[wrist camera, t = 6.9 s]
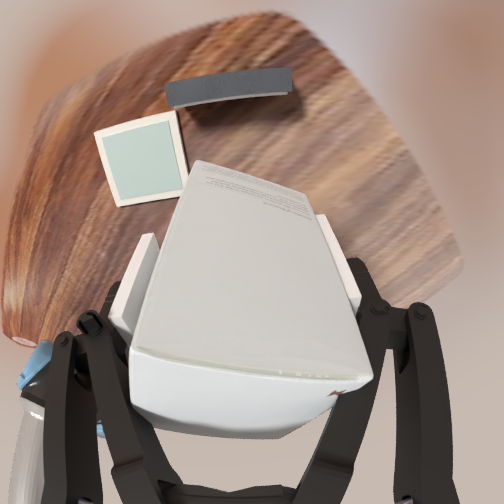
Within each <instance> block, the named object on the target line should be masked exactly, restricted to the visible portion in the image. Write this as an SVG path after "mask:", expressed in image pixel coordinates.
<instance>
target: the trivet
mask: <svg viewBox="0 0 504 504" xmlns="http://www.w3.org/2000/svg"><path fill="white" fill-rule="evenodd" d="M94 135H95V139H96V142H97V146H98V150H99V153H100V156H101V160H102V163H103V166H104V170H105V173H106V176H107V179H108V182H109V185H110V188H111V191H112V194H113V197H114V200H115V203H116V205H117V207H120V206H125V205H131V204H136V203H142V202H148V201H154V200H160V199H166V198H173V197H179V196H181V193H182V191H183V188H184V186H185V183H186V181H187V179H188V176H189V172H188V167H187V162H186V158H185V153H184V148H183V143H182V138H181V133H180V127H179V122H178V117H177V111H176V110H174V111H169V112H164V113H160V114H156V115H151V116H147V117H143V118H139V119H136V120H132V121H128V122H125V123H121V124H118V125H115V126H111V127H108V128H105V129H102V130H99V131H96V132H94Z"/></svg>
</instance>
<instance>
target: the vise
mask: <svg viewBox="0 0 504 504" xmlns="http://www.w3.org/2000/svg"><path fill="white" fill-rule="evenodd" d="M164 86H165V92H166V97H167V103H168V107H172V106H173V107H174V109H176V108H181V107H186V106H191V105H197V104H203V103H209V102H216V101H223V100H230V99H239V98H248V97H259V96H272V95H287V92H293V90H292V77H291V67H288V68H266V69H253V70H243V71H234V72H226V73H219V74H212V75H206V76H200V77H194V78H189V79H184V80H179V81H175V82H170V83H166V84H164Z"/></svg>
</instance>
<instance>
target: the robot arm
mask: <svg viewBox="0 0 504 504" xmlns="http://www.w3.org/2000/svg"><path fill="white" fill-rule="evenodd" d="M315 217H316V219H317V221H318V224H319V226H320V228H321V231H322V233H323V236H324V238H325V240H326V243H327V245H328V247H329V250H330V252H331V255H332V257H333V260H334V262H335V265H336V267H337V270H338V273H339V275H340V278H341V281H342V283H343V286H344V288H345V291H346V294H347V296H348V299H349V302H350V305H351V308H352V311H353V314H354V316H355V319H356V321H357V324H358V327H359V331H360V334H361V337H362V340H363V342H364V346H365V349H366V352H367V355H368V358H369V361H370V365H371V368H372V371H373V375H374V376H373V379H372V380H371V381H369V382H368V383H366V384H365V385H364V386H362V387H361V388H359V389H357V390H353V391H350V392H346V393H343V394H339V395H338V398H337V400H336V402H335V404H334V406H333V407H332V410H331V412H330V415H329V418H328V420H327V423H326V425H325V428H324V430H323V433H322V435H321V437H320V440H319V442H318V445H317V447H316V449H315V451H314V454H313V456H312V458H311V460H310V462H309V464H308V466H307V468H306V470H305V472H304V475H303V476H302V479H301V480H300V483H299V484H298V486H297V488H296V489H294V488H290V487H284V486H282V485H270V486H255V487H250V488H246V489H242V490H238V491H234V492H225V491H221V490H217V489H213V488H208V487H204V486H199V485H186V484H183V482H182V480H181V479H180V477H179V476H178V474H177V473H176V472H175V471H174V470H173V469H172V467H171V465H170V464H169V462H168V460H167V458H166V455H165V453H164V451H163V449H162V447H161V445H160V442H159V440H158V438H157V435H156V433H155V431H154V428H153V426H152V423H150V422H149V421H148V420H146V419H145V418H144V417H143V416H142V415H140V414H139V413H138V412H137V411H136V410H135V409H134V408H133V407H132V405H131V401H130V386H129V350H130V346H131V343H132V339H133V336H134V333H135V329H136V326H137V322H138V319H139V315H140V312H141V308H142V305H143V302H144V298H145V295H146V292H147V289H148V285H149V282H150V279H151V276H152V273H153V270H154V267H155V264H156V261H157V258H158V255H159V252H160V249H159V246H158V244H157V241H156V238H155V235H154V233H149V234H143V235H142V237H141V239H140V241H139V243H138V245H137V248H136V250H135V252H134V254H133V256H132V259H131V261H130V263H129V265H128V268H127V270H126V272H125V275H124V277H123V280H122V281H117V282H115V283H114V284H113V286H112V287H111V288H110V290H109V292H108V294H107V297H106V299H105V302H104V304H103V306H102V309H101V311H100V314H98V313H97V312H96V311H95V310H89V311H86V312H84V313H82V314H81V315H80V317H79V318H78V320H77V324H76V325H77V327H78V328H79V329H80V331H81V332H82V333H83V334H80V335H77V336H73V335H72V333H71V332H69V331H64V332H61V333H60V334H59V335H58V336H57V337H56V339H55V341H54V343H53V342H51V341H49V340H42V341H41V342H40V343H39V344H38V345H37V347H36V348H35V350H34V352H33V353H32V355H31V357H30V358H29V360H28V362H27V363H26V365H25V367H24V369H23V371H22V373H21V375H20V377H19V379H18V381H17V387H18V388H19V389H20V390H22V393H21V396H20V401H21V403H22V406H23V408H24V415H23V418H22V422H21V426H20V430H19V434H18V439H17V443H16V448H15V453H14V459H13V464H12V471H11V478H10V486H9V496H8V504H103V491H102V482H101V474H100V466H99V455H98V442H97V436H98V437H101V438H105V439H106V441H107V444H108V447H109V450H110V453H111V456H112V459H113V462H114V466H113V468H112V469H111V475H112V478H113V481H114V484H115V486H116V488H117V491H118V493H119V496H120V498H121V500H122V503H123V504H340V503H341V501H342V499H343V496H344V494H345V492H346V490H347V487H348V485H349V482H350V480H351V477H352V475H353V471H354V462H355V460H356V457H357V454H358V451H359V448H360V445H361V443H362V440H363V437H364V434H365V431H366V428H367V424H368V421H369V418H370V414H371V411H372V407H373V404H374V400H375V396H376V392H377V388H378V384H379V380H380V376H381V371H382V367H383V362H384V356H385V352H386V349H393V356H394V367H395V383H396V415H397V416H396V418H397V420H396V426H397V428H396V458H395V472H394V487H393V492H394V502H395V504H460V503H459V499H458V496H457V492H456V489H455V485H454V482H453V479H452V474H453V445H452V444H453V443H452V442H453V441H452V422H451V410H450V400H449V392H448V384H447V377H446V371H445V365H444V359H443V354H442V349H441V345H440V339H439V335H438V330H437V326H436V322H435V318H434V315H433V312H432V309H431V308H430V307H429V306H428V305H426V304H424V303H420V302H416V303H413V304H411V305H410V307H409V308H408V309H402V308H395V307H391V306H390V304H389V303H388V302H387V301H385V300H383V299H382V298H381V297H380V294H379V292H378V290H377V288H376V286H375V284H374V282H373V280H372V278H371V276H370V274H369V272H368V269H367V267H366V265H365V264H364V263H363V262H362V261H361V260H360V259H359V258H349V259H345V257H344V254H343V252H342V250H341V248H340V246H339V243H338V241H337V239H336V237H335V235H334V233H333V231H332V229H331V227H330V225H329V222H328V220H327V218H326V216H325V214H321V215H315ZM282 493H283V494H282Z"/></svg>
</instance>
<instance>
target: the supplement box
mask: <svg viewBox="0 0 504 504" xmlns="http://www.w3.org/2000/svg"><path fill="white" fill-rule="evenodd" d="M373 376H374V375H373V371H372V368H371V365H370V361H369V358H368V355H367V352H366V349H365V346H364V342H363V340H362V337H361V334H360V331H359V327H358V324H357V321H356V319H355V316H354V314H353V311H352V308H351V305H350V302H349V299H348V296H347V294H346V291H345V288H344V286H343V283H342V281H341V278H340V275H339V273H338V270H337V267H336V265H335V262H334V260H333V257H332V255H331V252H330V250H329V247H328V245H327V243H326V240H325V238H324V236H323V233H322V231H321V228H320V226H319V224H318V221H317V219H316V217H315V215H314V212H313V210H312V208H311V205H310V203H309V201H308V199H307V196H306V195H305V194H303V193H300V192H298V191H295V190H292V189H289V188H286V187H284V186H281V185H278V184H275V183H272V182H269V181H266V180H263V179H260V178H257V177H254V176H251V175H248V174H245V173H242V172H238V171H235V170H232V169H229V168H225V167H222V166H218V165H215V164H212V163H208V162H204V161H200V160H197V161H195V163H194V165H193V167H192V170H191V172H190V174H189V176H188V179H187V181H186V183H185V186H184V188H183V191H182V193H181V196H180V198H179V201H178V203H177V206H176V208H175V211H174V214H173V216H172V219H171V222H170V224H169V227H168V230H167V233H166V236H165V238H164V241H163V244H162V247H161V250H160V252H159V255H158V258H157V261H156V264H155V267H154V270H153V273H152V276H151V279H150V282H149V285H148V289H147V292H146V295H145V298H144V302H143V305H142V308H141V312H140V315H139V319H138V322H137V326H136V329H135V333H134V336H133V339H132V343H131V346H130V350H129V386H130V401H131V405H132V407H133V408H134V409H135V410H136V411H137V412H138V413H139V414H140V415H142V416H143V417H144V418H145V419H146V420H148V421H149V422H150V423H152V426H153V428H158V429H163V430H169V431H174V432H180V433H186V434H193V435H202V436H211V437H222V438H238V439H239V438H240V439H279V438H281V437H284V436H285V435H287V434H289V433H291V432H292V431H294V430H296V429H298V428H299V427H301V426H302V425H305V424H306V423H308V422H309V421H311V420H313V419H315V418H317V417H318V416H320V415H321V414H323V413H324V412H326V411H327V410H329V409H330V408H332V407H333V406H334V404H335V402H336V400H337V398H338V395H339V394H343V393H346V392H350V391H353V390H357V389H359V388H361V387H362V386H364V385H365V384H366V383H368V382H369V381H371V380H372V379H373Z"/></svg>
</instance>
